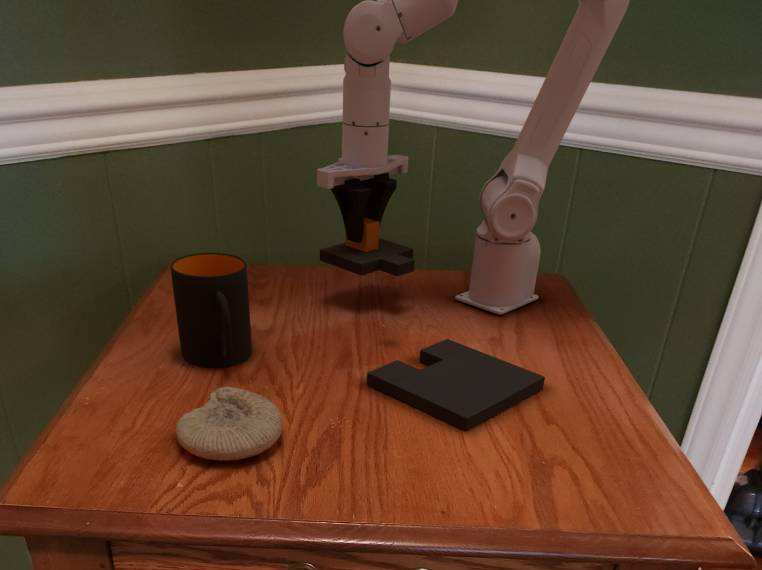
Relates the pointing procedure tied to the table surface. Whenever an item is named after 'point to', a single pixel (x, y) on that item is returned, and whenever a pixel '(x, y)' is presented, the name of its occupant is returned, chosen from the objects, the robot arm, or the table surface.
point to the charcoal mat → (457, 384)
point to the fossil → (230, 426)
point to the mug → (212, 309)
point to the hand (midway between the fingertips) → (362, 238)
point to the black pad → (370, 254)
